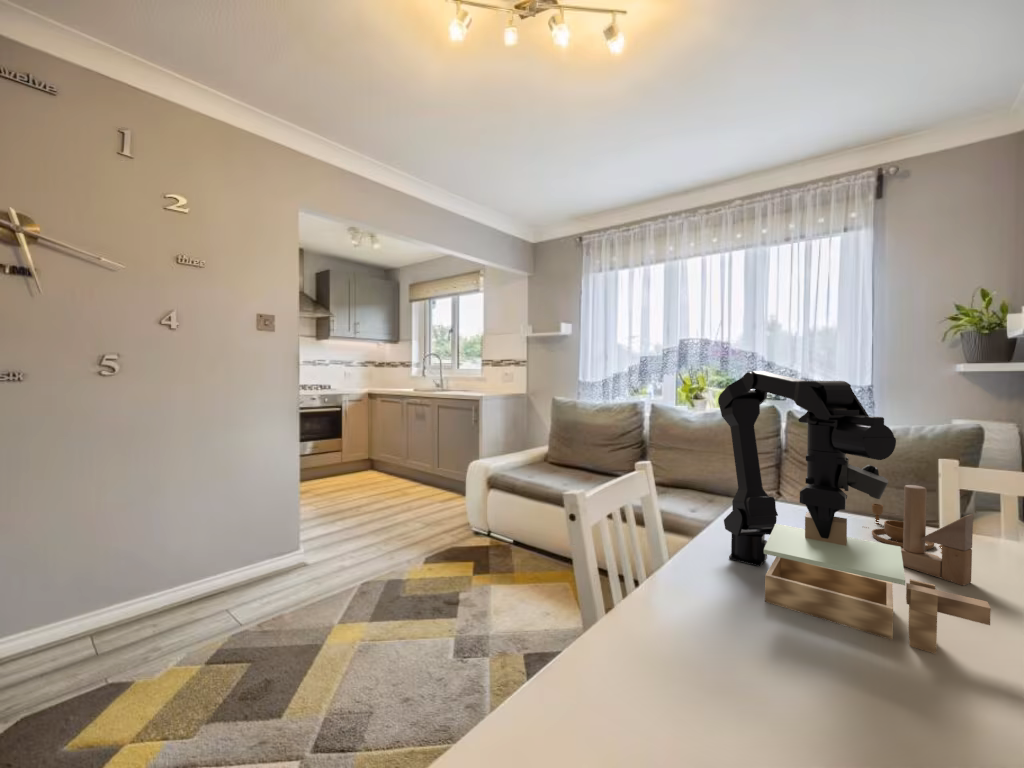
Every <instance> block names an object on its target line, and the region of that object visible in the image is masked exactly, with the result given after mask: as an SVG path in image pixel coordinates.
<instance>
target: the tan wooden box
mask: <svg viewBox="0 0 1024 768" xmlns="http://www.w3.org/2000/svg"><path fill="white" fill-rule="evenodd" d="M764 579H765V580H764V583H765V584H764V585H765V586H764V602H766V603H768V604H772V605H775V606H778V607H782V608H785V609H788V610H791V611H795V612H799V613H802V614H804V615H807V616H812V617H815V618H818V619H822V620H824V621H829V622H832V623H834V624H837V625H841V626H844V627H848V628H851V629H854V630H859V631H861V632H864V633H868V634H872V635H874V636H878V637H880V638H881V637H882V638H883V639H888V640H891V641H892V640H893V639H894V638H893V637H894V594H893V592H894V591H893V589H894V588H893V583H892V582H888V581H883V580H879V579H874V578H870V577H865V576H861V575H856V574H852V573H847V572H843V571H839V570H834V569H830V568H825V567H821V566H816V565H812V564H807V563H803V562H798V561H794V560H790V559H785V558H781V557H776V556H775V558H774V560H773V562H772V563H771V565H770V567H769V569H768V570H767V572H766V573H765V576H764ZM909 584H914V585H918V586H922V587H927V588H931V589H935V590H936V584H935V583H933V584H932V583H929V582H925V581H919V580H916V579H911V578H910V579H909ZM937 604H938V595H937V594H935V593H931V592H926V591H922V590H918V589H914V588H911V599H910V605H908V627H907V628H908V629H907V631H908V633H907V634H908V644H909V647H911V648H914V649H918V650H922V651H925V652H927V653H930V654H935V655H937V639H938V637H937V636H938V635H937V633H938V632H937V630H938V612H937Z"/></svg>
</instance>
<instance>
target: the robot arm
mask: <svg viewBox="0 0 1024 768" xmlns="http://www.w3.org/2000/svg"><path fill="white" fill-rule="evenodd" d="M768 394H772V395H776V396H779V397H781V398H785V399H790V400H792V401H794V404H795V405H796V406H797V407H800V408H801V409H803V410H805V411H806V413H804V414H803V415H801V416H800V417H798V422H799V423H803V424H807V428H806V429H807V434H806V435H807V437H806V438H807V439H806V441H807V442H806V443H807V446H806V455H805V461H806V477H805V484H806V485H805V486H803V487H801V490H800V491H799V504H801V505H805V507H806V509H807V510H808V511H807V512H809V513H810V515H811V517H812V519H813V521H814V523H815V525H816V528H817V530H818V532H819V534H820V536H821V537H822V538H826V539H828V538H829V534H830V530H831V526H832V522H833V518H834V517H835V514H836V513H837V512H838V511H845V510H846V507H847V498H848V494H847V493H845V492H849V490H850V488H852V489H855V490H857V491H860V492H861V493H864V494H866V495H869V497H871V498H873V499H877V500H881V498H882V496H883V494H884V492H885V490H886V488H887V486H888V485H889V480H888V478H886V477H885V476H883V475H880V472H879V467H877V466H875V465H872V464H869V463H868V464H867V465H865V466H863V467H859V466H855V465H851V464H849V457H847V455H851V456H856V457H862V458H866V459H871V460H877V461H883V460H886V459H888V458H889V457H890V456H891V455H892V454H893V453H894V452H895V448H896V445H897V438H896V437H895V435H894V433H893V431H892V430H891V428H890V427H889V426H887V425H886V424H885V418H884V417H883V416H870V415H869V414H868V412H867V411H866V409H865V408H864V407H863V405H862V403H861V402H860V400H859V398H858V397H857V395H856V394H855V392H854V391H853V389H852V387H851V384H850V383H849V382H847V381H844V380H804V379H800V378H796V377H791V376H785V375H781V374H777V373H771V372H770V371H767V370H766V371H765V370H763V371H762V370H754V371H753V370H750V371H748V372H746V373H745V374H743V376H742V377H741V378H739V379H738V380H735V381H734V382H732V383H730V384H729V385H727V386H726V387H725V389H723V391H722V392H721V393H720V394H719V396H718V399H717V401H718V403H717V404H718V406H719V410H720V414H721V417H722V418H723V420H724V421H725V422H726V423H727V424H728V426H729V428H730V434H731V442H732V450H733V457H734V465H735V472H736V480H737V481H736V482H737V491H736V492H735V495H734V497H733V499H732V503H731V505H732V511H731V512H730V513H729V514H727V516H726V517H725V518H724V519H723V523H724V524H723V525H724V528H725V529H724V530H726V531H727V532H729V533H731V539H730V540H731V544H730V545H731V546H730V547H731V549H730V550H731V552H730V555H728V558H729V559H730V560H732V561H736V562H737V561H738V562H741V563H745V564H749V565H753V566H755V567H761V566H762V565H763V563H765V562H766V561H767V559H768V555H767V554H764V548H765V545H766V543H767V541H768V540H766V539H765V538H766V535H769V536H770V534H771V532H772V530H773V528H774V526H775V524H777V520H778V519H777V517H778V516H779V514H778V512H777V508H776V506H777V505H776V500H775V497H774V496H769V495H768V493H767V492H766V491H765V489H764V487H763V486H764V485H763V480H762V473H761V466H760V459H759V450H758V445H757V436H756V429H755V424H756V422H757V420H758V418H759V416H760V415H761V404H763V402H765V400H767V398H768Z"/></svg>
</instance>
